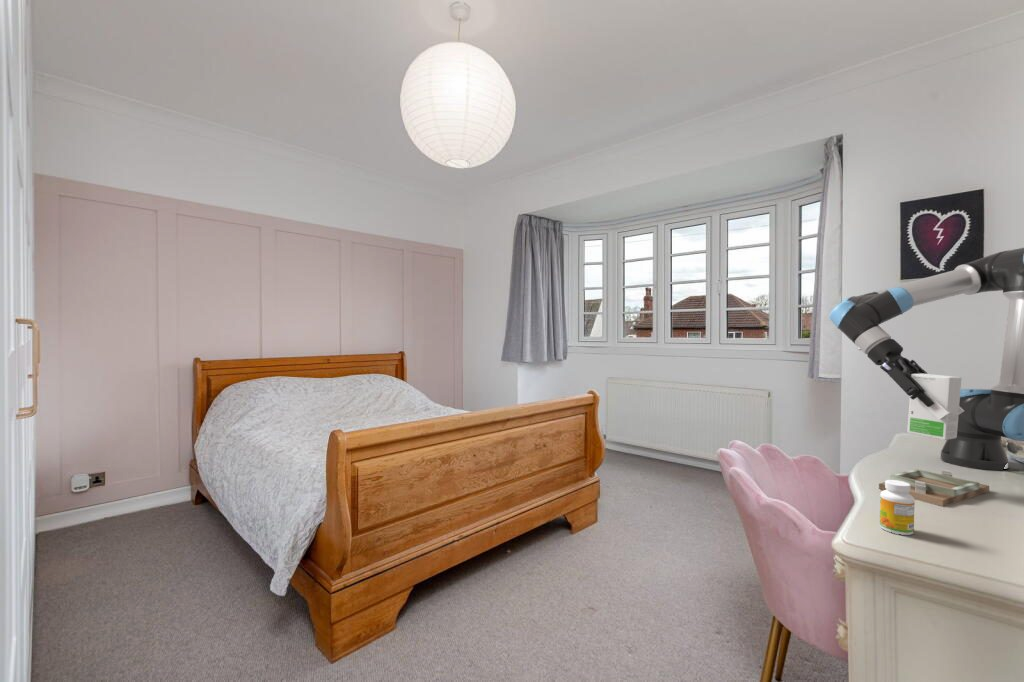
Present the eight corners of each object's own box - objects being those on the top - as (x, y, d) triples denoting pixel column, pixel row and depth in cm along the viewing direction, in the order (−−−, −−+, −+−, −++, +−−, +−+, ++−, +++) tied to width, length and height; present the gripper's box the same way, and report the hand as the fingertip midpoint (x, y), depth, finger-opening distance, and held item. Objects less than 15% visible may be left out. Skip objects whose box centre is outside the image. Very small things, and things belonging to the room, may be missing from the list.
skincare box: (906, 433, 123) (908, 373, 123) (919, 431, 126) (921, 373, 126) (947, 440, 116) (949, 376, 116) (959, 438, 119) (962, 375, 119)
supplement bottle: (875, 523, 100) (876, 477, 100) (907, 527, 98) (908, 480, 98) (884, 533, 95) (886, 484, 95) (918, 537, 93) (919, 488, 93)
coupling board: (926, 477, 132) (926, 465, 132) (989, 491, 121) (989, 478, 121) (878, 489, 122) (879, 476, 122) (942, 506, 110) (943, 492, 110)
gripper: (886, 355, 139) (956, 421, 125) (848, 356, 130) (918, 426, 116) (909, 337, 134) (984, 403, 120) (870, 337, 125) (946, 408, 111)
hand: (951, 415), depth 118 cm, fingers closed on skincare box, 6 cm apart
